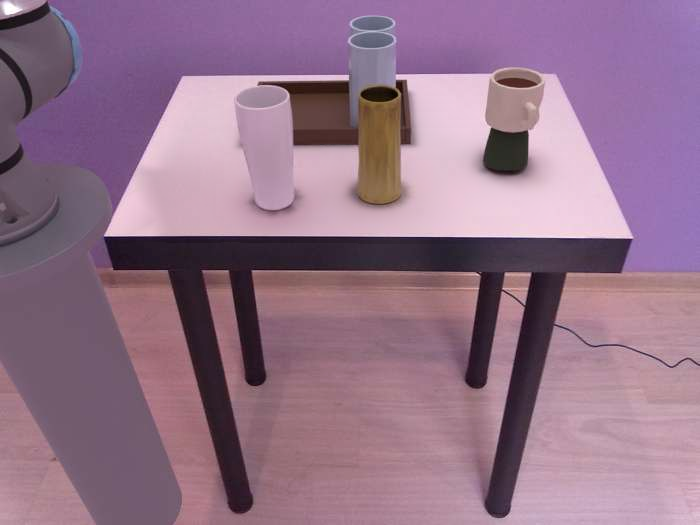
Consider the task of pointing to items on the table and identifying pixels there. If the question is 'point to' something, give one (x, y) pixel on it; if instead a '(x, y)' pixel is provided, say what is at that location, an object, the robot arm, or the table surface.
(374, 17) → the tumbler
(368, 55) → the tumbler
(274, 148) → the drinking glass
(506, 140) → the character mug
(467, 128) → the table surface
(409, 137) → the tray
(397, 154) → the vase
